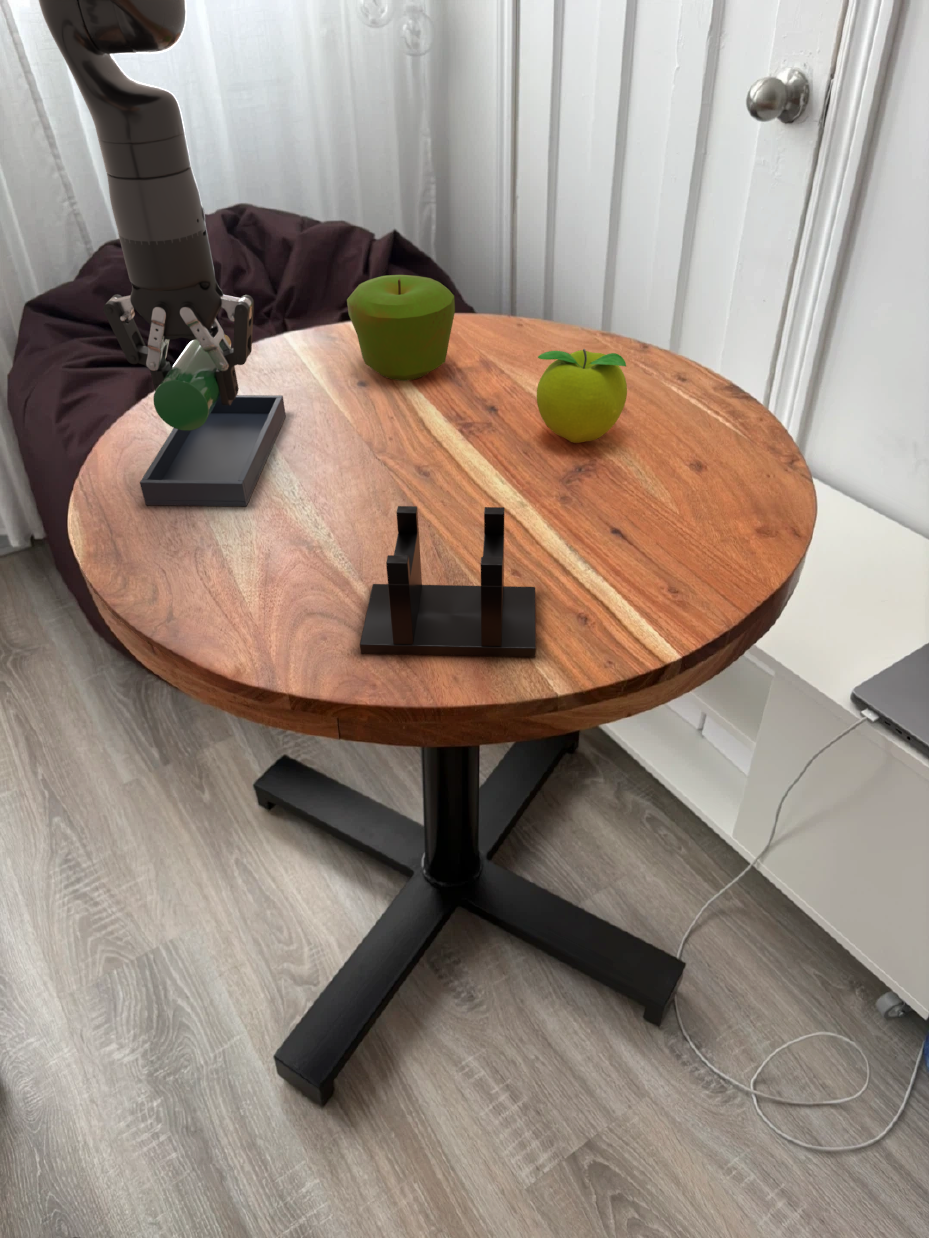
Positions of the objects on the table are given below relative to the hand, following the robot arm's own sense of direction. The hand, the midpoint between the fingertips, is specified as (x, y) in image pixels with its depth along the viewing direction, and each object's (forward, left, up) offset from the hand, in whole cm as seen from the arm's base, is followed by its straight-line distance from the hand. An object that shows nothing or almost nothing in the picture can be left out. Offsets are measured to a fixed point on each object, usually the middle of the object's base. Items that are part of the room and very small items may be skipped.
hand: (199, 401), depth 92 cm
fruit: (+38, +8, -8) cm, 40 cm away
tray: (0, +3, -8) cm, 8 cm away
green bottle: (0, +3, -1) cm, 3 cm away
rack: (+26, -24, -8) cm, 37 cm away
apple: (+17, +25, -8) cm, 32 cm away
